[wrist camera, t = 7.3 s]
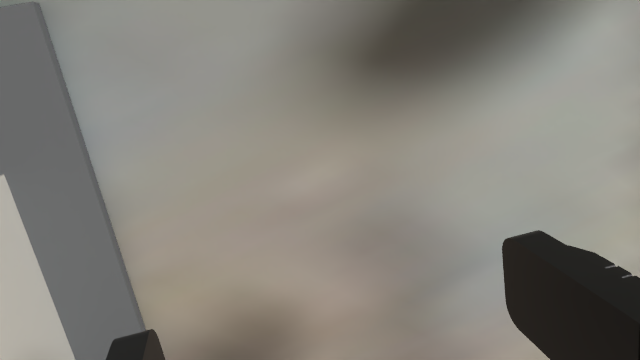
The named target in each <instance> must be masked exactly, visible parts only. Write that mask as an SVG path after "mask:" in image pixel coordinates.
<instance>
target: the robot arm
mask: <svg viewBox="0 0 640 360" xmlns="http://www.w3.org/2000/svg"><path fill="white" fill-rule="evenodd" d="M502 254H503V269H504V283H505V297H506V305H507V309H508V312H509V314H510V317H511V319H512V321H513V322H514V324H515V325H516V327H517V328H518V329H519V330H520V331H521V332H522V333H523V334H524V335H525V336H526V337H527V338H528V339H529V340H530V341H531V342H533V343H534V344H535V345H536V346H537V347H538V348H539V349H540V350H541V351H542V352H543V353H544V354H545V355H546V356H547V357H548V358H549V359H550V360H640V278H639V277H637V276H632V274H631V273H630V272H628V271H626V270H624V269H623V268H621V267H619V266H618V267H616V266H615V264H614V263H612V262H610V261H608V260H607V259H605V258H603V257H601V256H599V255H598V254H596V253H593V252H590V251H586V250H583V249H579V248H576V247H572V246H567V245H565V244H563V243H562V242H560V241H558V240H556V239H555V238H553V237H551V236H550V235H548V234H546V233H544V232H542V231H539V230H538V231H533V232H530V233H526V234H522V235H518V236H514V237H510V238H507V239H505V240H504V242H503V246H502ZM106 360H165V357H164V354H163V351H162V348H161V345H160V342H159V339H158V336H157V334H156V332H155V331H154V330H153V329H151V330H147V331H143V332H139V333H135V334H132V335H128V336H124V337H120V338H116V339H114V340H113V341H112V344H111V346H110V349H109V352H108V355H107V357H106Z"/></svg>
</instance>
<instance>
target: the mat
mask: <svg viewBox="0 0 640 360" xmlns="http://www.w3.org/2000/svg"><path fill="white" fill-rule="evenodd" d="M3 174H4V176H5V178H6V181H7V183H8V186H9V189H10V191H11V194H12V196H13V199H14V202H15V204H16V207H17V209H18V212H19V215H20V217H21V220H22V222H23V225H24V228H25V230H26V233H27V235H28V238H29V241H30V243H31V246H32V248H33V251H34V254H35V256H36V259H37V261H38V264H39V267H40V269H41V272H42V274H43V277H44V280H45V282H46V285H47V287H48V290H49V293H50V295H51V298H52V300H53V303H54V306H55V308H56V311H57V313H58V316H59V319H60V321H61V324H62V326H63V329H64V332H65V334H66V337H67V339H68V342H69V345H70V347H71V350H72V352H73V355H74V358H75V360H106V357H107V355H108V352H109V349H110V346H111V344H112V341H113V340H114V339H116V338H120V337H124V336H128V335H132V334H135V333H139V332H143V331H146V329H145V326H144V323H143V320H142V317H141V314H140V310H139V307H138V304H137V301H136V298H135V295H134V292H133V289H132V286H131V283H130V280H129V277H128V274H127V271H126V268H125V265H124V262H123V259H122V255H121V252H120V249H119V246H118V243H117V240H116V237H115V234H114V231H113V228H112V225H111V222H110V219H109V216H108V213H107V210H106V207H105V203H104V200H103V197H102V194H101V191H100V188H99V185H98V182H97V179H96V176H95V173H94V170H93V167H92V164H91V161H90V158H89V155H88V151H87V148H86V145H85V142H84V139H83V136H82V133H81V130H80V127H79V124H78V121H77V118H76V115H75V112H74V109H73V106H72V103H71V99H70V96H69V93H68V90H67V87H66V84H65V81H64V78H63V75H62V72H61V69H60V66H59V63H58V60H57V57H56V54H55V51H54V47H53V44H52V41H51V38H50V35H49V32H48V29H47V26H46V23H45V20H44V17H43V14H42V11H41V8H40V5H39V3H36V2H28V3H22V4H16V5H10V6H4V7H0V175H3Z"/></svg>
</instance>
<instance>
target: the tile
mask: <svg viewBox="0 0 640 360" xmlns="http://www.w3.org/2000/svg"><path fill="white" fill-rule="evenodd" d="M0 360H75V358H74V355H73V352H72V350H71V347H70V345H69V342H68V339H67V337H66V334H65V332H64V329H63V326H62V324H61V321H60V319H59V316H58V313H57V311H56V308H55V306H54V303H53V300H52V298H51V295H50V293H49V290H48V287H47V285H46V282H45V280H44V277H43V274H42V272H41V269H40V267H39V264H38V261H37V259H36V256H35V254H34V251H33V248H32V246H31V243H30V241H29V238H28V235H27V233H26V230H25V228H24V225H23V222H22V220H21V217H20V215H19V212H18V209H17V207H16V204H15V202H14V199H13V196H12V194H11V191H10V189H9V186H8V183H7V181H6V178H5V176H4V174H3V175H0Z"/></svg>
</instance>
